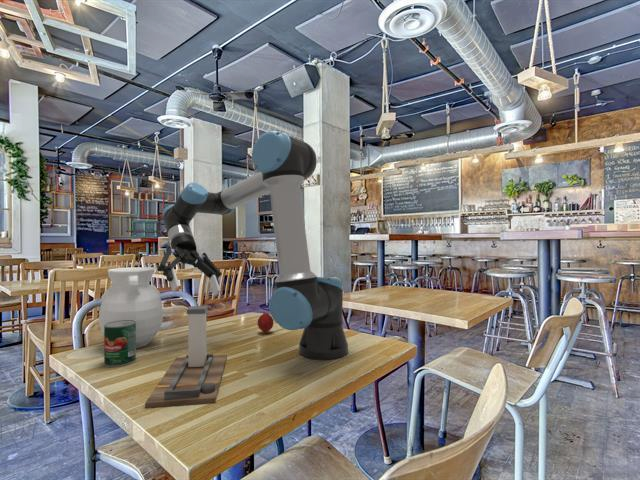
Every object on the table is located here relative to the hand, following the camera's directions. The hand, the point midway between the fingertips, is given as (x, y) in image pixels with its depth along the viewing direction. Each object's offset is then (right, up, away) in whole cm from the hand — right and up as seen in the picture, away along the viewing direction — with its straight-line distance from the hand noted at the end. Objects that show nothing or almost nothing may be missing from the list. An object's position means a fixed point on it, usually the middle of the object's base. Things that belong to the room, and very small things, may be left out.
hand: (197, 291), depth 105 cm
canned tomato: (-20, -19, -5) cm, 28 cm away
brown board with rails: (+5, -19, -17) cm, 26 cm away
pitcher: (-25, -19, +11) cm, 34 cm away
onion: (+16, -19, +26) cm, 36 cm away
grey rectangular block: (+3, -18, -10) cm, 21 cm away
